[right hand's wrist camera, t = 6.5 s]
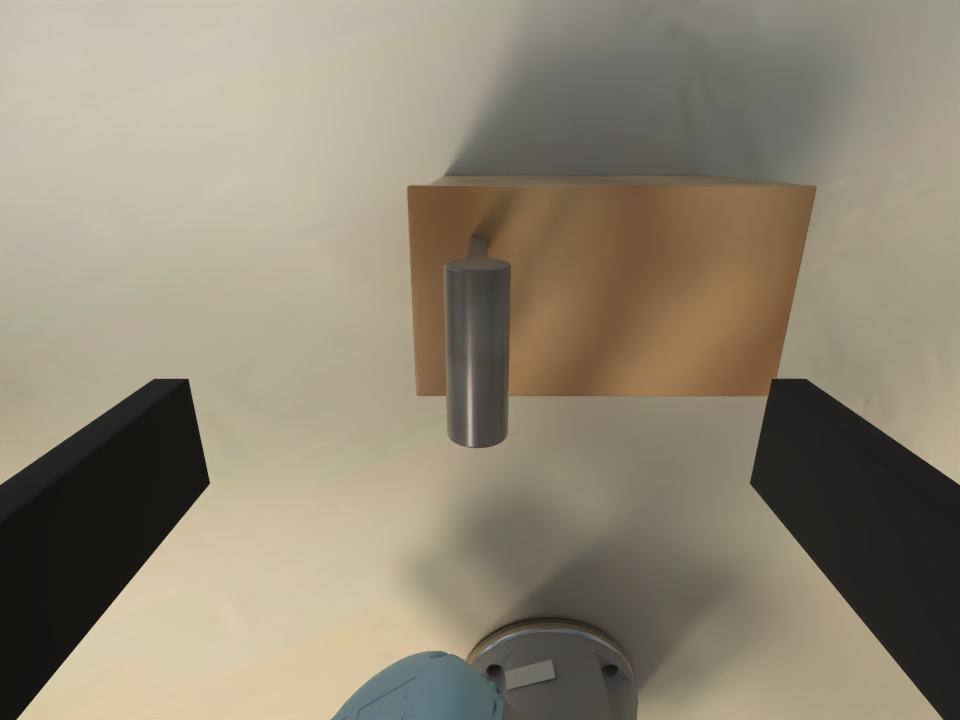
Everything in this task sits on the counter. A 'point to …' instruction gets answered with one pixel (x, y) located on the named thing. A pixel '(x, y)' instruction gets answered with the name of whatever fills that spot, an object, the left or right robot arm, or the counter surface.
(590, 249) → the lid
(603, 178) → the chest
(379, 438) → the counter surface
